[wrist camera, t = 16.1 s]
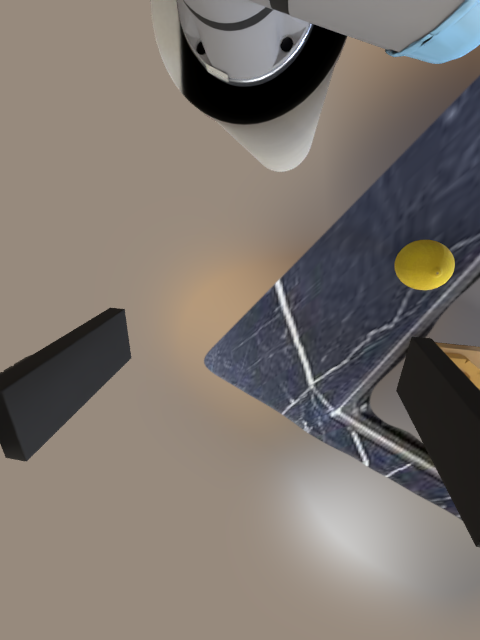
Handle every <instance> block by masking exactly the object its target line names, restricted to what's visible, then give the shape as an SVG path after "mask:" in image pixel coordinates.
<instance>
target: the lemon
mask: <svg viewBox="0 0 480 640" xmlns="http://www.w3.org/2000/svg"><path fill="white" fill-rule="evenodd" d="M454 267H455V262H454V258H453V255H452V253H451V252H450V251H449V249H448V248H447V247H446V246H444V245H443V244H441V243H439V242H436V241H432V240H418V241H414V242H412V243H410V244H408V245H406V246H405V247H404V248H402V250H401V251H400V252H399V253H398V255H397V257H396V260H395V271H396V274H397V276H398V278H399V279H400V280H401V282H403V283H404V284H405V285H407V286H409V287H411V288H414V289H419V290H431V289H434V288H437V287H439V286H441V285H443V284H444V283H445V282H447V281H448V280H449V278H450V277H451V276H452V274H453V272H454Z"/></svg>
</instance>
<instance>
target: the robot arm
mask: <svg viewBox="0 0 480 640" xmlns="http://www.w3.org/2000/svg"><path fill="white" fill-rule="evenodd" d="M177 7H178V14H179V18H180V23H181V26H182V30H183V33H184V35H185V38H186V40H187V42H188V44H189V46H190V48H191V49H192V51H193V53H194V54H195V56H196V57H197V58H198V60H199V61H200V62H201V64H202V65H203V66H204V67H205V69H206V70H207V71H208V72H209V73H211V74H212V75H213V76H214V77H216V78H217V79H219V80H221V81H223V82H225V83H227V84H230V85H234V86H240V87H249V86H256V85H260V84H263V83H265V82H268V81H270V80H272V79H273V78H275V77H277V76H278V75H279V74H281V73H282V72H283V71H284V70H286V69H287V68H288V67H289V66H290V65H291V64H292V63H293V61H294V60H295V59H296V58H297V56H298V55H299V53H300V52H301V50H302V49H303V47H304V45H305V44H306V42H307V40H308V38H309V35H310V33H311V31H312V28H313V25H314V24H315V25H318V26H321V27H323V28H326V29H329V30H332V31H335V32H338V33H341V34H344V35H346V36H349V37H352V38H355V39H358V40H361V41H364V42H367V43H369V44H373V45H375V46H378V47H381V48H384V49H385V52H386V53H387V54H388V55H390V56H393V57H397V56H408V57H412V58H415V59H418V60H422V61H426V62H429V63H434V64H441V63H445V62H447V61H450V60H453V59H457V58H460V57H462V56H464V55H465V54H467V53H468V52H470V51H471V50H473V49H474V48H476V47H477V46H478V45H480V0H177ZM126 324H127V323H126V317H125V309H117V308H109V309H108V310H106V311H104V312H102V313H101V314H99V315H98V316H96V317H94V318H93V319H91V320H89V321H88V322H86V323H84V324H83V325H81V326H79V327H78V328H76V329H74V330H73V331H71V332H70V333H68V334H66V335H65V336H63V337H61V338H60V339H58V340H56V341H55V342H53V343H51V344H50V345H48V346H46V347H45V348H43V349H42V350H40V351H38V352H36V353H35V354H33V355H31V356H28V357H26V358H24V359H22V360H21V361H19V362H17V363H16V364H14V366H11V367H9V368H7V369H6V370H4V372H1V373H0V444H1V446H2V449H3V452H4V454H5V457H6V458H11V459H16V460H21V461H27V460H28V459H29V458H30V457H31V456H32V455H33V454H34V453H35V452H37V451H38V450H39V449H40V448H41V447H42V446H43V445H44V444H45V443H46V442H47V441H48V440H49V439H50V438H51V437H52V436H53V435H54V434H55V433H56V432H57V431H58V430H59V429H60V428H61V427H62V426H63V425H64V424H65V423H66V422H67V421H68V420H69V419H70V418H71V417H72V416H73V415H74V414H75V413H76V412H77V411H78V410H79V409H80V408H81V407H82V406H83V405H84V404H85V403H86V402H87V401H88V400H89V399H90V398H91V397H92V396H93V395H94V394H95V393H96V392H97V391H98V390H99V389H100V388H101V387H102V386H103V385H104V384H105V383H106V382H107V381H108V380H109V379H110V378H111V377H113V375H115V373H116V372H118V371H119V370H120V369H121V367H123V366H124V365H125V364H126V363H127V362H128V361H129V359H131V353H130V346H129V338H128V331H127V325H126ZM397 393H398V395H399V397H400V398H401V400H402V402H403V404H404V406H405V408H406V410H407V412H408V414H409V416H410V418H411V420H412V422H413V424H414V426H415V428H416V430H417V432H418V434H419V436H420V438H421V440H422V442H423V444H424V446H425V448H426V450H427V451H428V453H429V455H430V457H431V459H432V461H433V463H434V465H435V467H436V469H437V471H438V473H439V475H440V477H441V479H442V481H443V483H444V485H445V487H446V489H447V491H448V493H449V495H450V497H451V498H452V500H453V502H454V504H455V506H456V508H457V510H458V512H459V514H460V516H461V518H462V520H463V522H464V524H465V526H466V528H467V530H468V532H469V534H470V535H471V538H472V540H473V542H474V543H475V545H476V547H480V390H479V389H478V388H477V387H476V386H475V385H474V383H473V382H472V381H471V380H470V379H469V378H468V377H467V376H466V375H465V374H464V373H463V372H462V371H461V370H460V369H459V367H458V366H457V365H456V364H455V363H454V362H453V361H452V360H451V359H450V358H449V357H448V356H447V355H446V354H445V353H444V351H443V350H442V349H441V348H440V347H439V346H438V345H437V344H436V343H435V342H434V341H433V340H432V339H430V338H420V337H412V338H411V341H410V345H409V348H408V352H407V355H406V359H405V362H404V366H403V369H402V372H401V376H400V379H399V383H398V387H397Z"/></svg>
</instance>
